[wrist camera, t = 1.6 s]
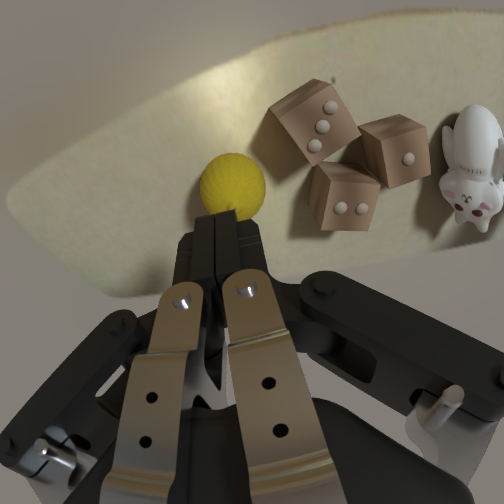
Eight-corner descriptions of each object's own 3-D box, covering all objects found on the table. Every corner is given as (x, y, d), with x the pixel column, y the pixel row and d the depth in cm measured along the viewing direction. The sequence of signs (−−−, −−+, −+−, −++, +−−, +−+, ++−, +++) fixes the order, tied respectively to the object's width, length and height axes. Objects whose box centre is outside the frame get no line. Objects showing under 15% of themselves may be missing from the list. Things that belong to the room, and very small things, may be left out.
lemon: (254, 197, 30) (264, 243, 24) (199, 192, 29) (194, 237, 23) (264, 146, 27) (279, 179, 21) (205, 139, 26) (200, 170, 20)
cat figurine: (515, 116, 16) (499, 256, 24) (521, 110, 20) (511, 227, 27) (430, 102, 24) (430, 229, 31) (452, 98, 27) (452, 207, 35)
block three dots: (313, 78, 24) (332, 84, 19) (340, 120, 26) (362, 135, 22) (268, 107, 25) (278, 119, 21) (298, 148, 28) (313, 167, 24)
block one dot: (398, 113, 26) (427, 127, 22) (406, 155, 29) (432, 175, 25) (357, 125, 27) (381, 141, 22) (367, 168, 30) (390, 190, 25)
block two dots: (359, 164, 29) (381, 186, 25) (350, 206, 32) (368, 232, 28) (314, 160, 29) (331, 182, 24) (307, 204, 32) (321, 231, 27)
